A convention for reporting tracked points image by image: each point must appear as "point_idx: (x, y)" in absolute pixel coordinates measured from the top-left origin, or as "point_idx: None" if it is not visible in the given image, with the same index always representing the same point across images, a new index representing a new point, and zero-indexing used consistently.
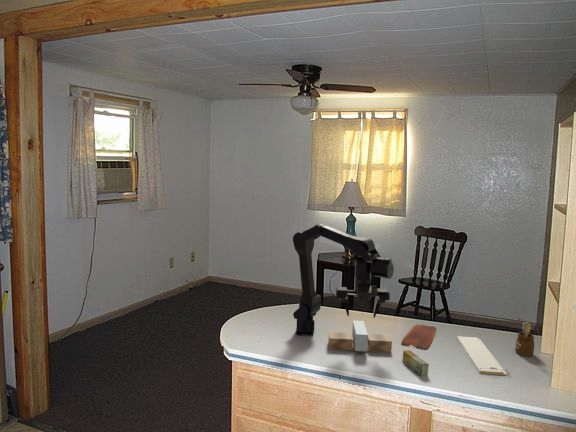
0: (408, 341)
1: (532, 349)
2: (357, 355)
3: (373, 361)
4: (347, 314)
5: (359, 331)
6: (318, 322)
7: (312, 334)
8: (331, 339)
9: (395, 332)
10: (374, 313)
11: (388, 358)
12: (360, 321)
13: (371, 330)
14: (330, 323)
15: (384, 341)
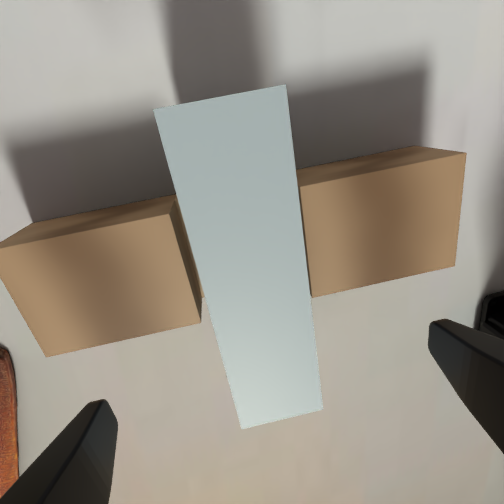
0: None
1: None
2: None
3: (111, 15)
4: (472, 329)
5: (255, 187)
6: (438, 437)
7: (489, 299)
8: (445, 154)
9: None
10: (66, 454)
11: (20, 111)
12: (264, 411)
13: (202, 448)
14: (388, 446)
15: (47, 236)
